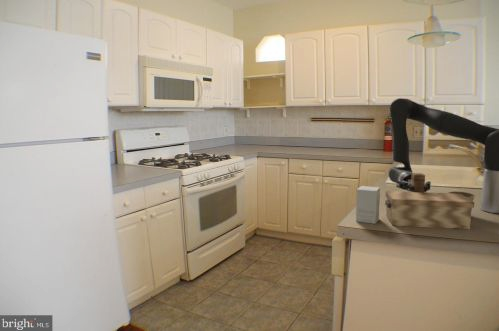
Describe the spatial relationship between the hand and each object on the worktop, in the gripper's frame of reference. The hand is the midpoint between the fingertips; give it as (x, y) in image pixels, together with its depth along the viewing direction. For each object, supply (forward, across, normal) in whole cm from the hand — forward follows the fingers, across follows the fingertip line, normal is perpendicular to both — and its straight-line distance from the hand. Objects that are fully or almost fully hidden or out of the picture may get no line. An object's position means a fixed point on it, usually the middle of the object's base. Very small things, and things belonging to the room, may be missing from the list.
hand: (419, 189), depth 141 cm
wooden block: (-3, 0, +8) cm, 9 cm away
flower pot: (-4, +17, +11) cm, 21 cm away
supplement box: (+9, -20, +11) cm, 25 cm away
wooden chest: (+4, +1, +11) cm, 12 cm away
